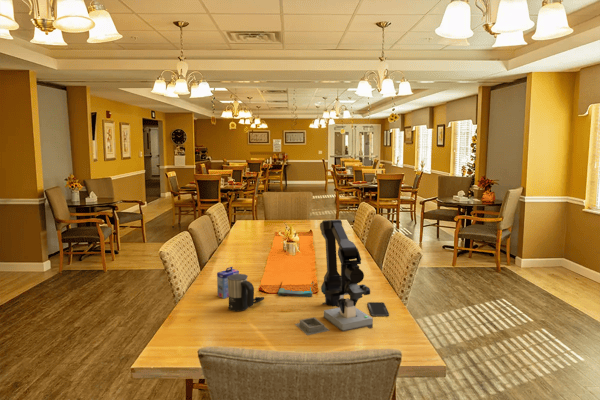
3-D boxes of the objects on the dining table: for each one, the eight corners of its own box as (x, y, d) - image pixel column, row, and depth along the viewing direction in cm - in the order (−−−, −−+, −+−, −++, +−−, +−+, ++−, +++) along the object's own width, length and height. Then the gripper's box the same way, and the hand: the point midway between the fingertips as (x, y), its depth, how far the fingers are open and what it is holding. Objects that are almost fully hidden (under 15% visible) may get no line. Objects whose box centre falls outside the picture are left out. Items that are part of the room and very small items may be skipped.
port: (323, 319, 192) (323, 309, 192) (351, 313, 198) (352, 304, 197) (342, 334, 178) (342, 323, 177) (372, 327, 184) (372, 317, 183)
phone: (371, 314, 195) (367, 302, 210) (371, 317, 195) (367, 304, 210) (389, 314, 195) (384, 302, 210) (389, 317, 195) (384, 304, 210)
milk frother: (224, 310, 203) (223, 278, 201) (241, 298, 218) (240, 268, 216) (252, 314, 198) (251, 281, 196) (267, 302, 213) (267, 271, 211)
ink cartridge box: (223, 299, 217) (223, 270, 215) (216, 296, 221) (215, 267, 219) (239, 294, 224) (239, 265, 222) (232, 291, 228) (232, 263, 226)
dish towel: (276, 297, 221) (276, 292, 220) (282, 282, 244) (282, 278, 243) (312, 298, 219) (312, 293, 219) (314, 283, 243) (313, 278, 242)
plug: (339, 317, 189) (339, 298, 188) (348, 315, 191) (348, 297, 190) (347, 322, 184) (347, 303, 183) (355, 320, 186) (355, 301, 185)
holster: (294, 326, 185) (294, 319, 185) (316, 321, 190) (316, 315, 189) (307, 337, 175) (307, 330, 174) (330, 332, 179) (330, 325, 178)
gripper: (337, 284, 174) (337, 323, 176) (378, 278, 182) (377, 315, 184) (324, 276, 184) (324, 313, 186) (363, 270, 192) (362, 306, 194)
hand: (347, 312), depth 187 cm, fingers closed on plug, 4 cm apart
